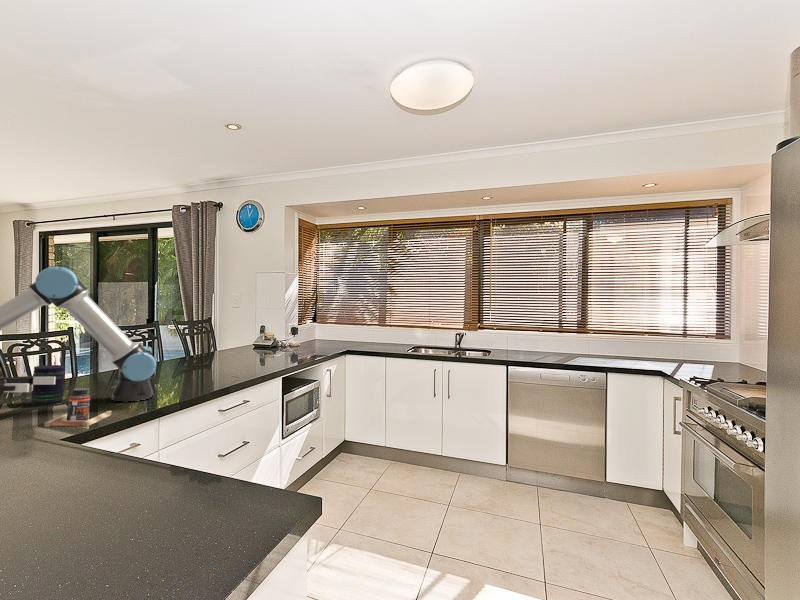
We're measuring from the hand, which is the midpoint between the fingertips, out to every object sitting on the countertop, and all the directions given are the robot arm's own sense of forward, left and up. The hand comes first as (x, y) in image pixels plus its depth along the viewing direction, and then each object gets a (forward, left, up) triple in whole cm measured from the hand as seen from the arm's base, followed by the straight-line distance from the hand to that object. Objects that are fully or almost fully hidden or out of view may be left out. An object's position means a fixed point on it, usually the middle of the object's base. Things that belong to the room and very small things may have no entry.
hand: (42, 384), depth 137 cm
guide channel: (-1, +12, -13) cm, 17 cm away
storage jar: (-27, -13, -13) cm, 33 cm away
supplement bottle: (0, +12, -13) cm, 18 cm away
